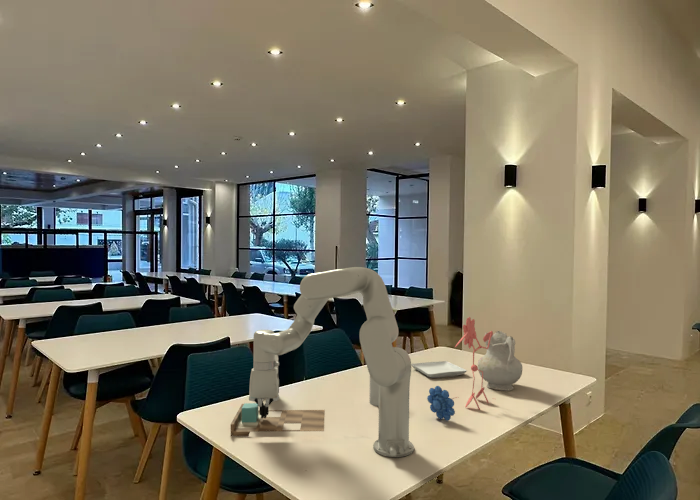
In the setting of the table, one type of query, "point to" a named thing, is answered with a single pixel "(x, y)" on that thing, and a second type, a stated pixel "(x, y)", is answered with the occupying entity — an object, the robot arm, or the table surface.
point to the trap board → (279, 422)
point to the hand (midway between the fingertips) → (264, 416)
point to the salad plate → (439, 369)
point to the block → (250, 412)
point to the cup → (374, 393)
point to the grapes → (441, 403)
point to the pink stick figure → (469, 336)
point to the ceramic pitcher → (500, 363)
